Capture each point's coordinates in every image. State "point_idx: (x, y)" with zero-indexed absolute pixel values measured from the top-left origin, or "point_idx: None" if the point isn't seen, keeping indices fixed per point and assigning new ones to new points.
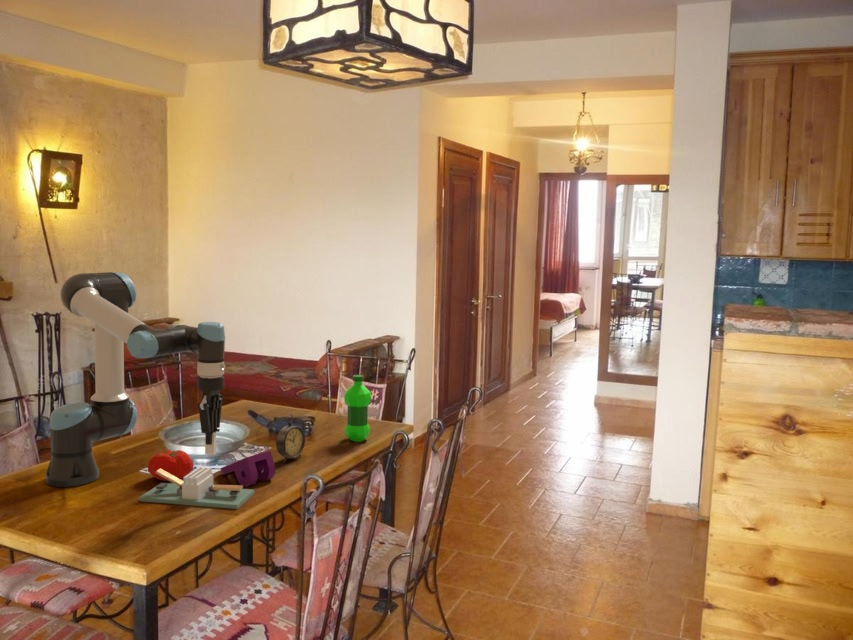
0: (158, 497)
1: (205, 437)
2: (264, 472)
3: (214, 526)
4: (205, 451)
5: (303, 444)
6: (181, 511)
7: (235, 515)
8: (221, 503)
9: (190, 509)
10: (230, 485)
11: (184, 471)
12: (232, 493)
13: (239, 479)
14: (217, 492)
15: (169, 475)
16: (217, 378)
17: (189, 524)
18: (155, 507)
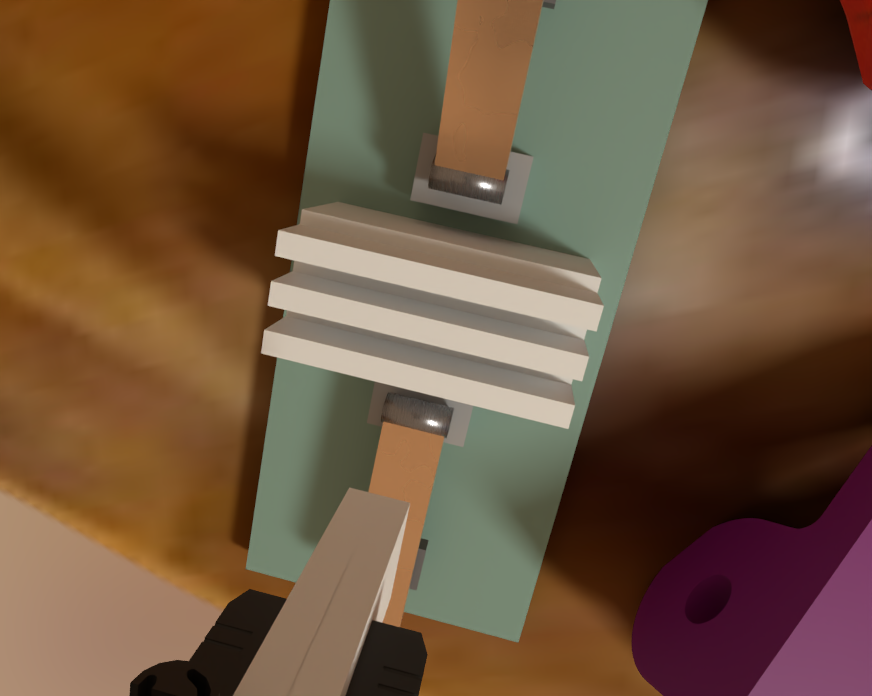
0: (354, 4)
1: (266, 640)
2: None
3: (8, 471)
4: (337, 510)
5: None
6: (192, 237)
7: (165, 554)
8: (263, 478)
9: (230, 287)
10: (407, 548)
11: (867, 79)
12: None
13: (731, 539)
14: None
15: (499, 25)
16: None
17: (10, 335)
18: (245, 29)
